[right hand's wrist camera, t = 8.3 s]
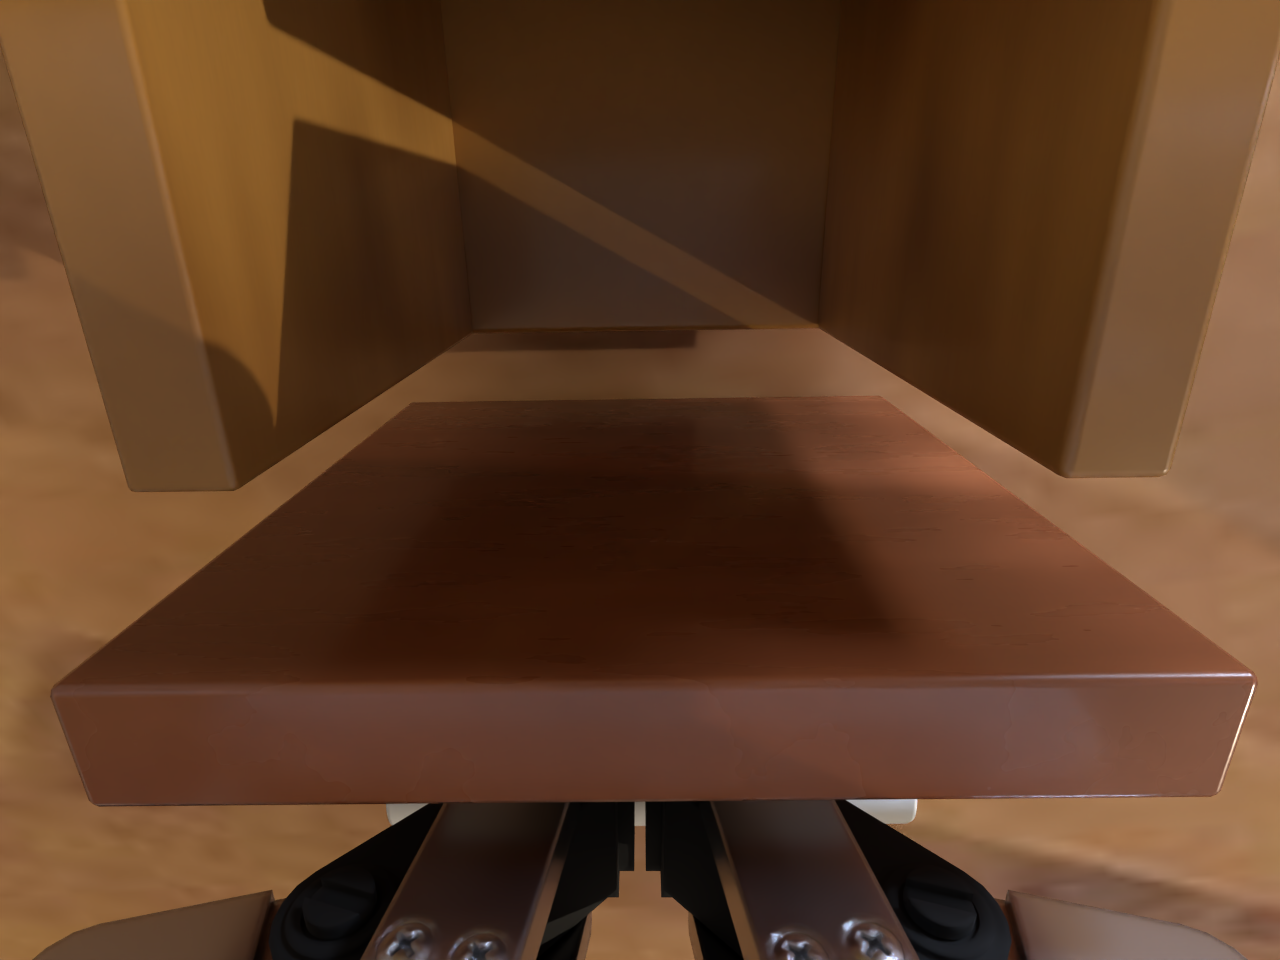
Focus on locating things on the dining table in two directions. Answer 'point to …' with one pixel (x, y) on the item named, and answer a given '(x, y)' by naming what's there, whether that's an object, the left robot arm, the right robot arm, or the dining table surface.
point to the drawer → (645, 428)
